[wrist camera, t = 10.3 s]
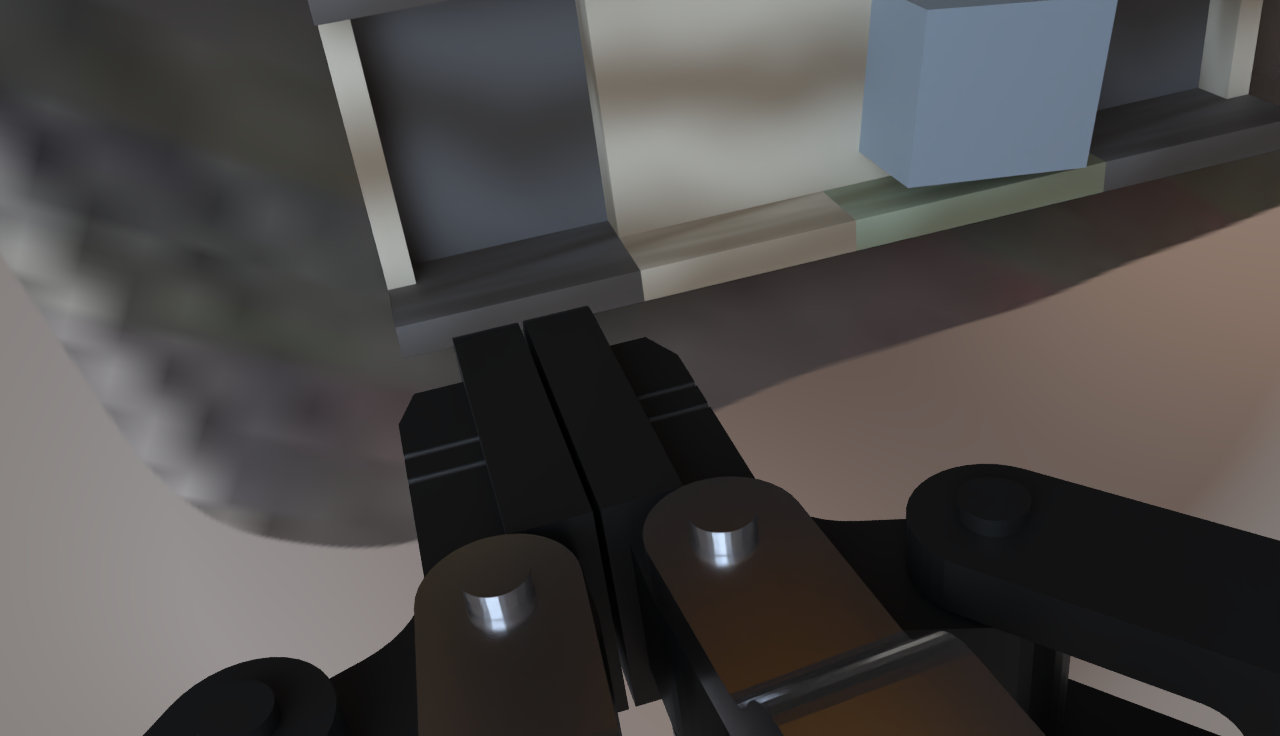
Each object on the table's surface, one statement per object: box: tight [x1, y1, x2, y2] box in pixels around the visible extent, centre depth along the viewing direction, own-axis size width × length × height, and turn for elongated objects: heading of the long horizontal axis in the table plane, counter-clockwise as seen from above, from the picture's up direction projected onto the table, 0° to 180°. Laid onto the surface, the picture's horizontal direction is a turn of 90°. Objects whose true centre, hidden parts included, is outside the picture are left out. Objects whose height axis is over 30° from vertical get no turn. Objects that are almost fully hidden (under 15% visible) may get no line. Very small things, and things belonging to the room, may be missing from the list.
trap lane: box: [308, 0, 1280, 358], centre depth 40 cm, size 12×35×5 cm, turn 98°
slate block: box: [859, 0, 1118, 188], centre depth 40 cm, size 6×7×4 cm
